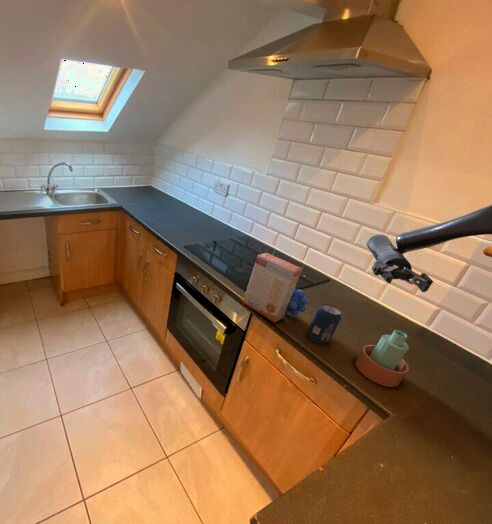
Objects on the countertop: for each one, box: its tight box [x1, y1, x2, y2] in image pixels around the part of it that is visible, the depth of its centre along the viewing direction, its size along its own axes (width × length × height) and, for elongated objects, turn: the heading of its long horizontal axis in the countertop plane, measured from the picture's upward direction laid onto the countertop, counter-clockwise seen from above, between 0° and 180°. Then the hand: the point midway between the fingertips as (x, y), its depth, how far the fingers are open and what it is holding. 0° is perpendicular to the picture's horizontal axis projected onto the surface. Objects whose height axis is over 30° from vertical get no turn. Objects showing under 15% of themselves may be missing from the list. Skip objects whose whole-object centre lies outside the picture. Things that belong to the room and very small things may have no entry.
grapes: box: [284, 287, 309, 317], centre depth 108 cm, size 12×7×12 cm, turn 79°
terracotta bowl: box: [355, 344, 410, 388], centre depth 88 cm, size 11×11×6 cm
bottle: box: [369, 329, 410, 371], centre depth 86 cm, size 6×6×14 cm
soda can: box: [307, 303, 342, 345], centre depth 98 cm, size 7×7×12 cm
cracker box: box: [242, 252, 303, 324], centre depth 107 cm, size 14×6×21 cm, turn 36°
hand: (407, 284), depth 87 cm, fingers open, 8 cm apart
